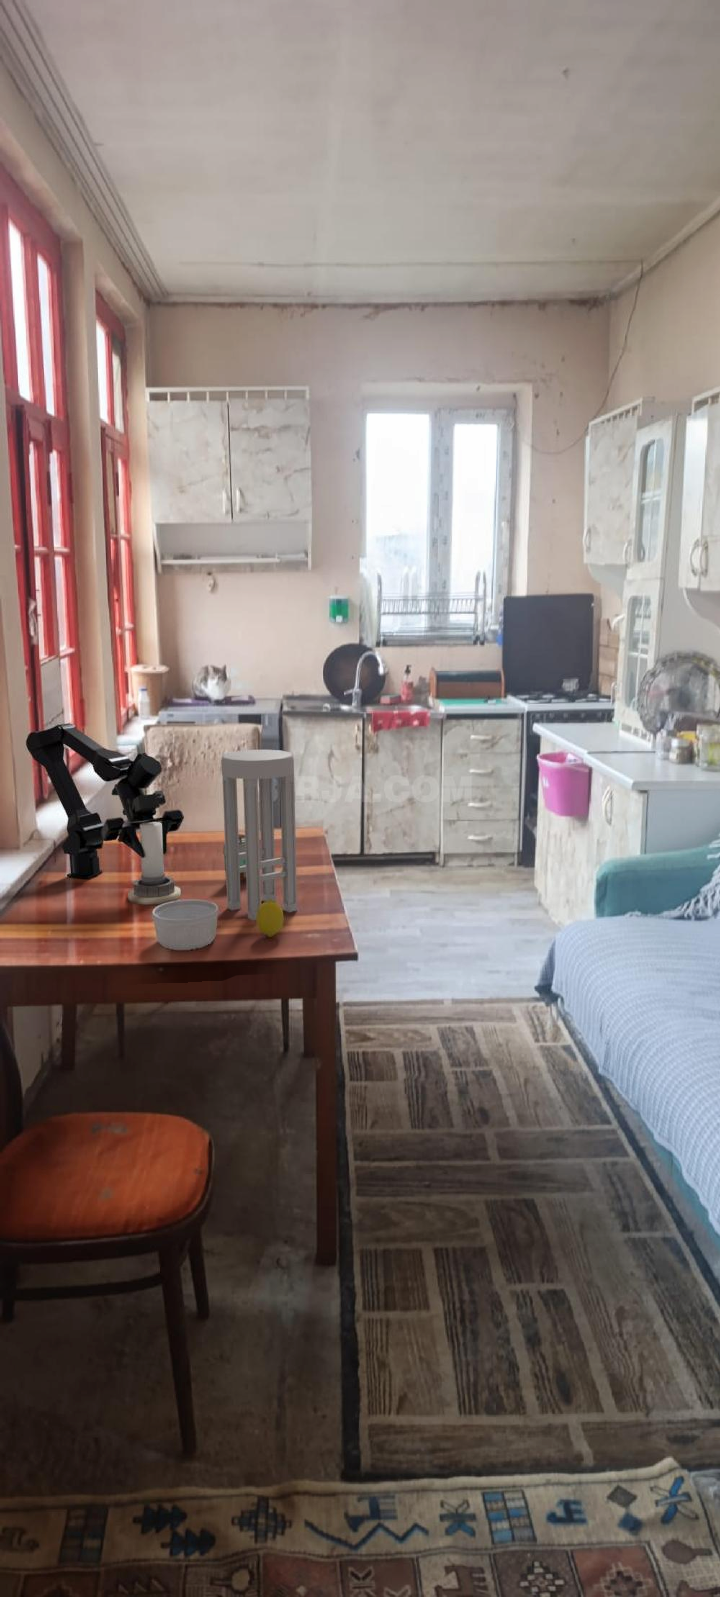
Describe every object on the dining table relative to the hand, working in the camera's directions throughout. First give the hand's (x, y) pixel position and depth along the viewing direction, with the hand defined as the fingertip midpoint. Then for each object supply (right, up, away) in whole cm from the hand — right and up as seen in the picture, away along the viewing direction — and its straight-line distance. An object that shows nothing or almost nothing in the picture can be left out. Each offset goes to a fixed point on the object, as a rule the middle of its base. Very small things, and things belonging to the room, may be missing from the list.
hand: (154, 855), depth 228 cm
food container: (+19, -7, +17) cm, 26 cm away
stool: (+25, -12, -7) cm, 29 cm away
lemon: (+29, -16, -25) cm, 41 cm away
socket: (-1, -10, +3) cm, 10 cm away
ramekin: (+12, -16, -27) cm, 34 cm away
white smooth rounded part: (-1, -7, +3) cm, 7 cm away
